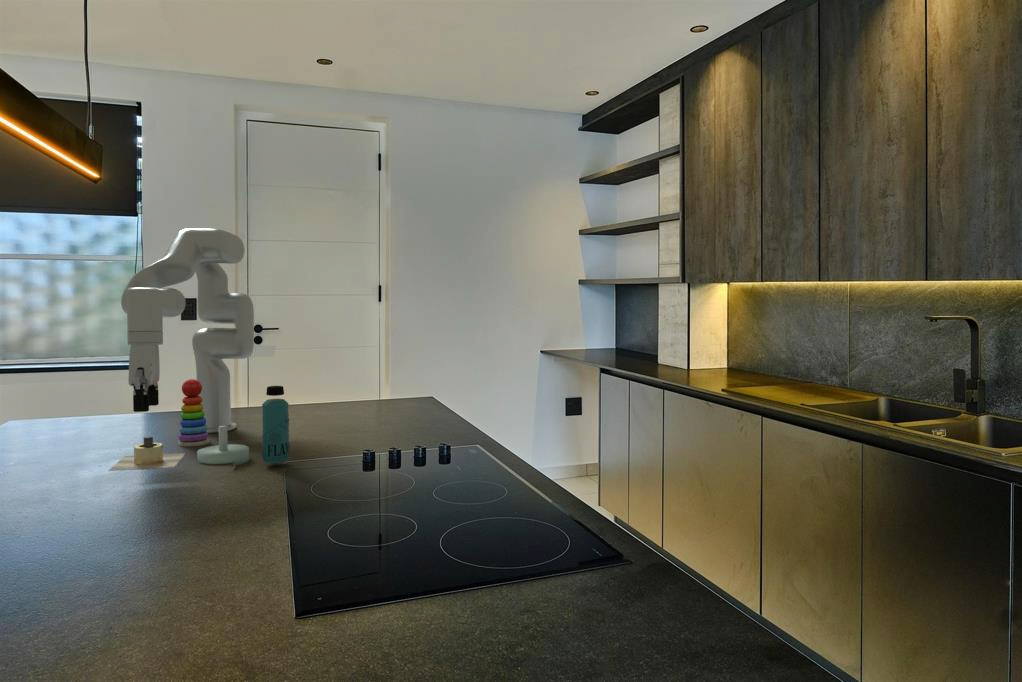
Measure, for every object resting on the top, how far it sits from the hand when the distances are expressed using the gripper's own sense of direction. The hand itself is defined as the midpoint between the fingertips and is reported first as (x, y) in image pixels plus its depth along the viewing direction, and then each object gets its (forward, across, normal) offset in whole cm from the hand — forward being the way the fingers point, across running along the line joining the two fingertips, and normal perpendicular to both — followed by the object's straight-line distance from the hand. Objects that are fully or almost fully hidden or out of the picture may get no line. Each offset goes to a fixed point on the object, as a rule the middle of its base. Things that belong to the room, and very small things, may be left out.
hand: (146, 408), depth 160 cm
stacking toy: (+14, -20, +7) cm, 25 cm away
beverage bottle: (+14, +6, +30) cm, 34 cm away
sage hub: (+14, -1, +17) cm, 22 cm away
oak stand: (+14, -1, 0) cm, 14 cm away
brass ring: (+13, -1, 0) cm, 13 cm away
